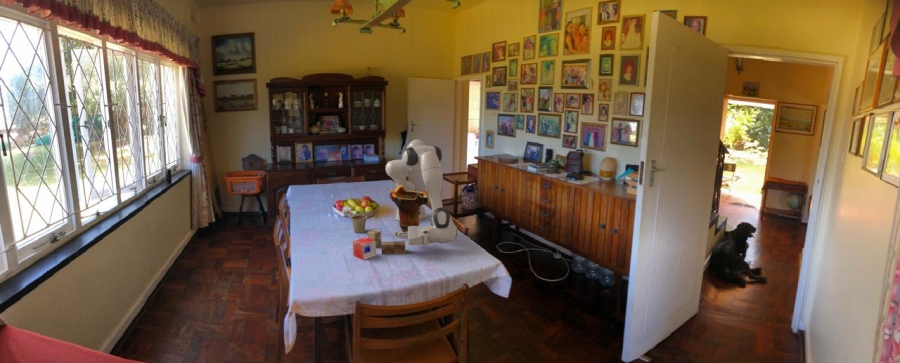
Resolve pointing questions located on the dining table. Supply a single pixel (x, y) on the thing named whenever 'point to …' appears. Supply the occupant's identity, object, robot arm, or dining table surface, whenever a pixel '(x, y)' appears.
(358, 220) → the flower pot
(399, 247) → the walnut block
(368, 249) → the red and cream cube
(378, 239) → the oak block
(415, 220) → the decorative vase
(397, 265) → the dining table surface
